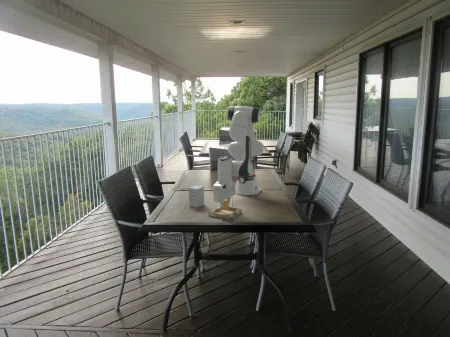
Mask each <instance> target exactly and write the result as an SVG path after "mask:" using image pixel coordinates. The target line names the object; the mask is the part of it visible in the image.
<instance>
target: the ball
mask: <svg viewBox="0 0 450 337" xmlns="http://www.w3.org/2000/svg"><path fill="white" fill-rule="evenodd" d="M223 203H224V207H222V208H224V209H226V208H228V207H230V204H229V202H228V201H227V199H225V200H224V202H223Z"/></svg>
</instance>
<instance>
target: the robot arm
mask: <svg viewBox="0 0 450 337" xmlns="http://www.w3.org/2000/svg"><path fill="white" fill-rule="evenodd" d="M227 119H228V120H229V121H230V124H229V131H228V133H229V134H228V136H229V137H230V138H231V140H233V141H231V142H230V143H229V144H228V146H227V152H228V154H229V155H230V156H229V155H223V156H221V157H219V158H218V161H217V181H216V182H215V183H214V184H213V186H212V189H213V190H212V191H213V194H212V196H213V201H214V203H215V202H216V203H219V204H220V206H221V207H224V203H223V202H224V200H226V201H228V202H229V205H230V204H231V202H230V201H231V198H232V197H233V196H235V195H240V196H256V195H258V194H259V193H260V192H261V191H262V188H260V187H259V182H257V180H255V177H256V173H254V163H252V157H257V156H261V155H262V154H263V152H264V145H263V143H262V142H261V141H259V140H258V139H257V138H256V136H255V124H257V123H258V122H259V121H260V119H261V111H260V108H258V107H255V106H254V107H253V106H249V105H231V106H229V107H228V109H227ZM231 156H232V157H231ZM232 158H233V159H232ZM233 177H236V178H237V180H236V181H235V182H236V184H235V182H234V181H233Z"/></svg>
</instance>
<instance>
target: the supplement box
mask: <svg viewBox="0 0 450 337" xmlns="http://www.w3.org/2000/svg"><path fill="white" fill-rule="evenodd" d="M188 202H189V204H188V205H189V207H192V206H193V207H194V208H200V207H203V206H205V187H204V186H201V185H193V186H190V187H188Z"/></svg>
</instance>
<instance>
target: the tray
mask: <svg viewBox="0 0 450 337" xmlns="http://www.w3.org/2000/svg"><path fill="white" fill-rule="evenodd" d="M242 209H243V208H240V207H234V206H229V207H228V208H226V209H224V208H222V207H221V205H220V206H218V207H215V208H214V209H213V210H212V209H211V210H210V211H208V214H207V215H208V217H212V218H217V219H222V220H227V221H229V220H231V219H233V218H234V217H237V216H238V215H239V214H242V211H243V210H242Z"/></svg>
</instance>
